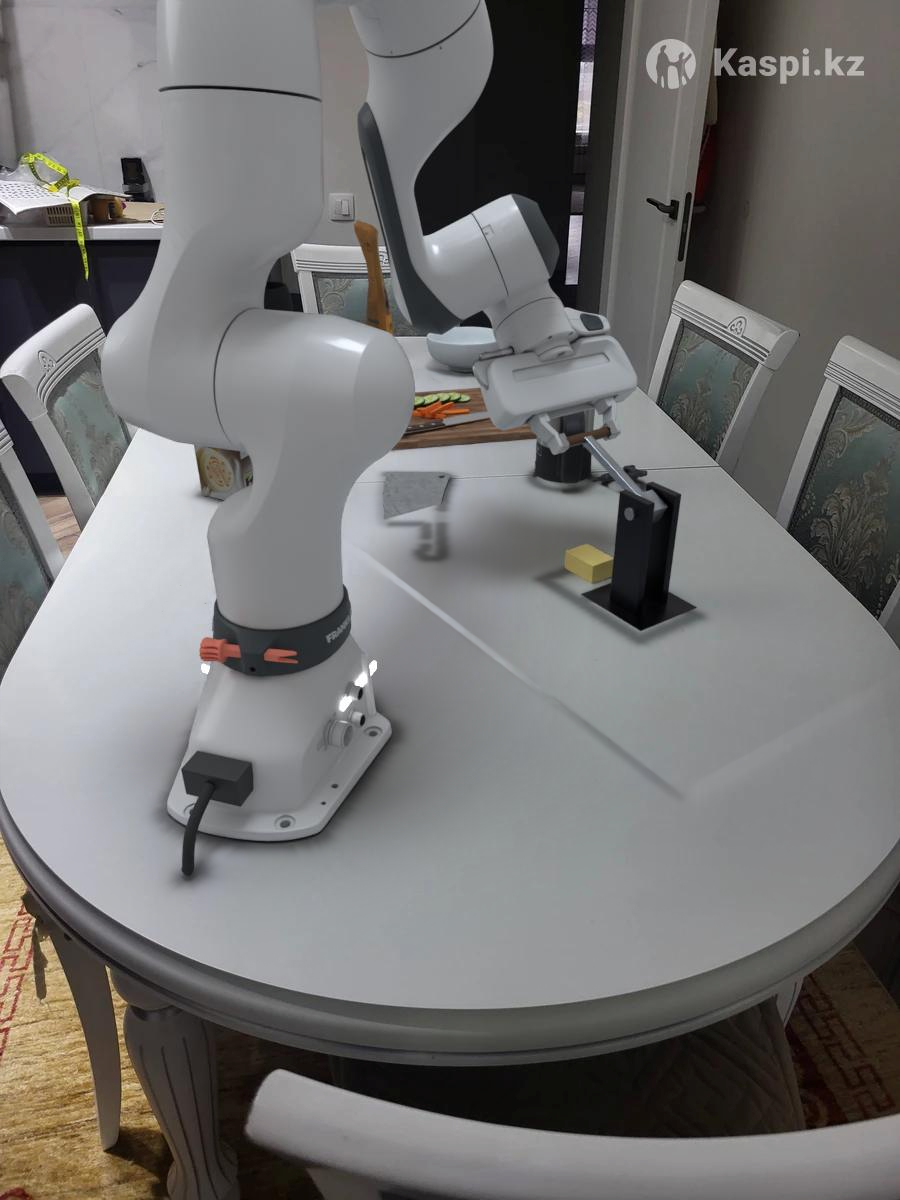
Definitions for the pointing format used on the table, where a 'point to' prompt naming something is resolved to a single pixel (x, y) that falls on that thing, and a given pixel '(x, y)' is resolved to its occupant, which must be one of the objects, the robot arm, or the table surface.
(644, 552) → the bracket
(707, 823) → the table surface
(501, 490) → the table surface
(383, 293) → the wooden handle
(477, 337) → the cereal bowl
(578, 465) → the milk frother
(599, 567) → the butter
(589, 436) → the slicer arm
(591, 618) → the table surface
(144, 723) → the table surface
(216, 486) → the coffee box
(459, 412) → the chopping board
